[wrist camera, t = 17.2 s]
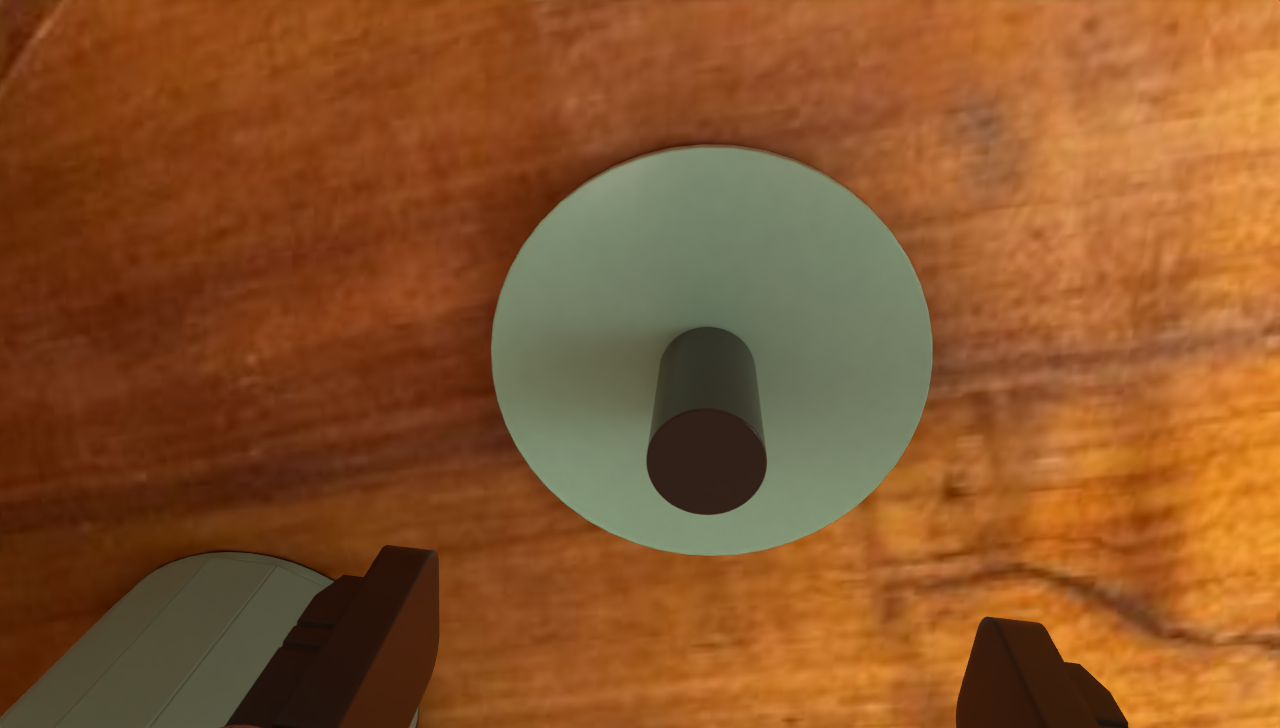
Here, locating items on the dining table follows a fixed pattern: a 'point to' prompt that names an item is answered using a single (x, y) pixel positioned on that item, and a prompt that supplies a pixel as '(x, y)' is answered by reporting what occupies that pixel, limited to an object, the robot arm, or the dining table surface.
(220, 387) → the dining table surface
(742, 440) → the tin lid
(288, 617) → the tin
